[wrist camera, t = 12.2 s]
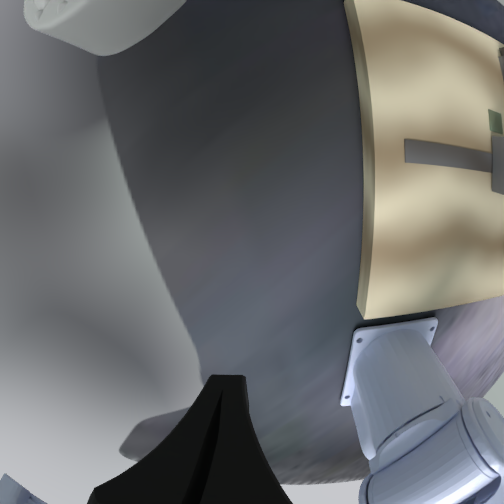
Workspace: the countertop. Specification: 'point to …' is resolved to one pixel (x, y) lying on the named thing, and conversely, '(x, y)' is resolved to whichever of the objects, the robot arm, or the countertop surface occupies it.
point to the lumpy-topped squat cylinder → (99, 21)
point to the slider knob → (498, 164)
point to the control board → (427, 159)
